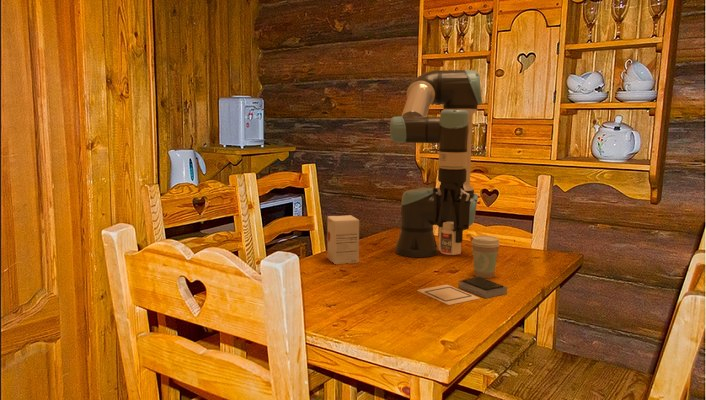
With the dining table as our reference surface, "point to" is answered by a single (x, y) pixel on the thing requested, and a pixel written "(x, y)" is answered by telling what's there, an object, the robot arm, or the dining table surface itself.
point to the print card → (448, 294)
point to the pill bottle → (446, 237)
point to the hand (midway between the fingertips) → (449, 251)
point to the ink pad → (483, 287)
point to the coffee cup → (485, 255)
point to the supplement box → (343, 239)
